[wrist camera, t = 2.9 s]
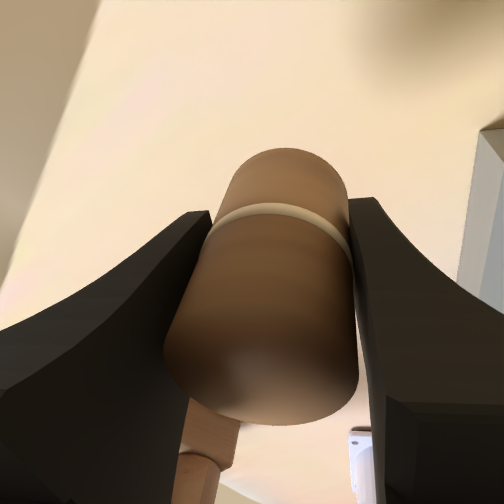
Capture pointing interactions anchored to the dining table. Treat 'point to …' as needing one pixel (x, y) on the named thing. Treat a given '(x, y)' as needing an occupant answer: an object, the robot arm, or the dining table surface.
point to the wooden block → (203, 454)
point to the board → (485, 224)
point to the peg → (271, 298)
